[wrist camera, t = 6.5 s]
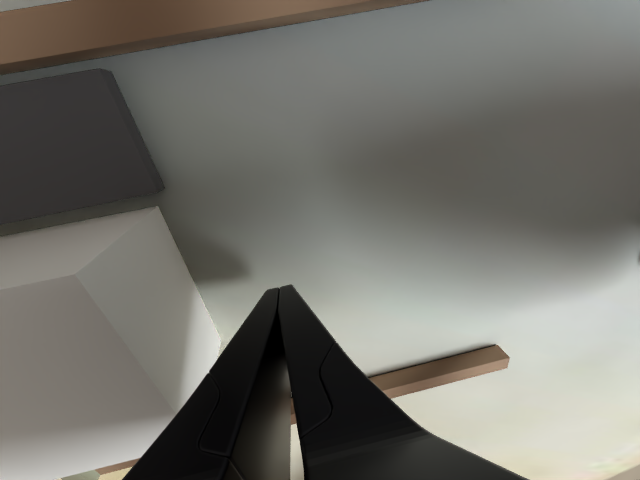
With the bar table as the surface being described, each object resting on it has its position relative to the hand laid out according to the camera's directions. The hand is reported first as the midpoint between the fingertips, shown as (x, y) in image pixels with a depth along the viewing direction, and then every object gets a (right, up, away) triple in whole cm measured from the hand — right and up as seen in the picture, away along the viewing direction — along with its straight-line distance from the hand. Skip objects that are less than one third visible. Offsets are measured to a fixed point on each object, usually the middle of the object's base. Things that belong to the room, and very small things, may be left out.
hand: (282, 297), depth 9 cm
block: (-6, 0, +1) cm, 6 cm away
